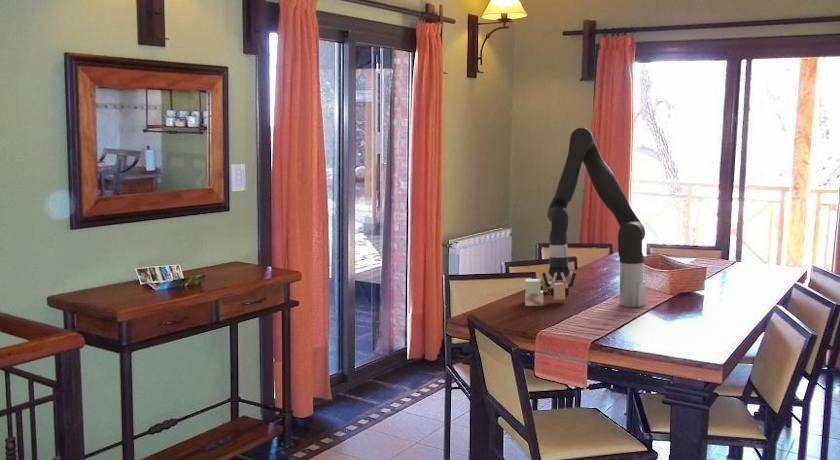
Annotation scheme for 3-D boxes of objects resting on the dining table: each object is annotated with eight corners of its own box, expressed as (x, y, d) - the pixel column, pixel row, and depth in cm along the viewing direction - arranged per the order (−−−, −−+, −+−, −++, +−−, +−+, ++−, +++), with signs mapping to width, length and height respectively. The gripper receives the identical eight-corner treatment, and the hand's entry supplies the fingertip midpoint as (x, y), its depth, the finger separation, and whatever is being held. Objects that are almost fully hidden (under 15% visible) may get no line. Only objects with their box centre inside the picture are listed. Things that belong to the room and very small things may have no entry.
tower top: (540, 290, 320) (540, 278, 320) (540, 293, 315) (540, 281, 314) (525, 290, 321) (525, 278, 321) (525, 293, 315) (525, 281, 315)
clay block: (565, 297, 320) (565, 282, 319) (565, 299, 316) (565, 284, 315) (554, 297, 321) (553, 282, 320) (554, 299, 317) (553, 284, 316)
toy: (548, 291, 327) (562, 286, 340) (535, 279, 330) (550, 275, 343) (538, 303, 330) (553, 298, 343) (526, 291, 333) (541, 286, 345)
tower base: (543, 302, 321) (543, 290, 321) (542, 306, 314) (542, 293, 314) (526, 302, 323) (525, 290, 322) (525, 306, 316) (525, 293, 315)
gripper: (576, 253, 319) (577, 295, 321) (541, 254, 321) (542, 295, 323) (576, 256, 311) (577, 298, 313) (540, 257, 314) (541, 298, 316)
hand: (559, 296), depth 318 cm, fingers closed on clay block, 4 cm apart
